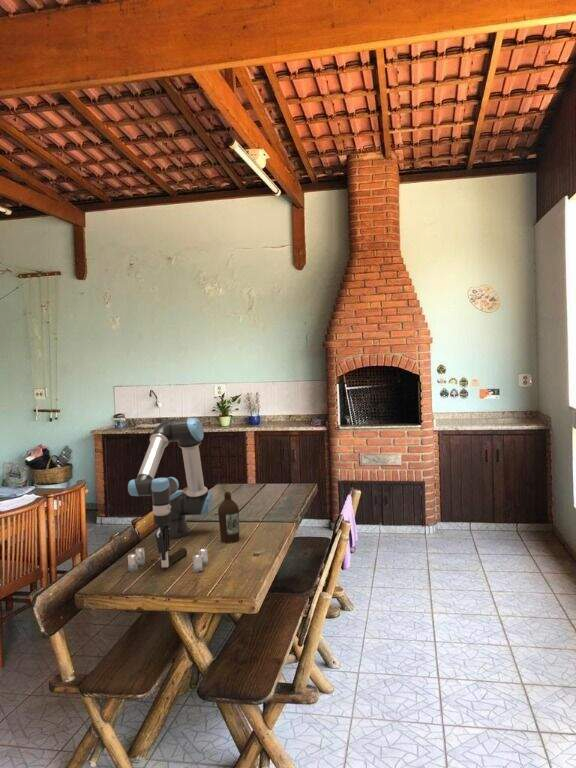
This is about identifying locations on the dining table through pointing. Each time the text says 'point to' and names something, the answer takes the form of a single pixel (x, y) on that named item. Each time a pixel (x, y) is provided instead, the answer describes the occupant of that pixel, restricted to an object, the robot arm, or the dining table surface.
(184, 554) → the hand tool
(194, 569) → the cylinder
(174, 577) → the dining table surface
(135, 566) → the cylinder
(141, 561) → the spacer
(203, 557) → the cylinder
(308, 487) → the dining table surface
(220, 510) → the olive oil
